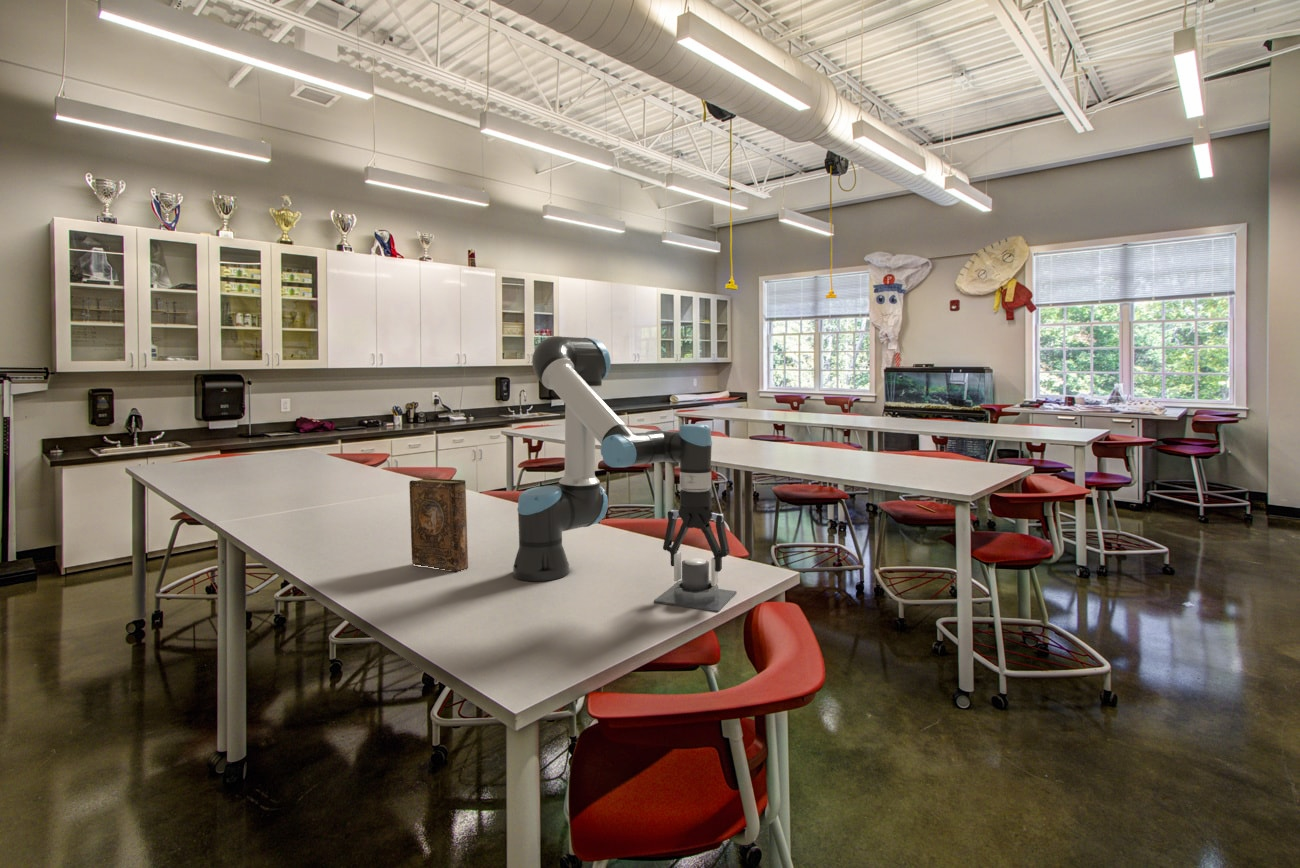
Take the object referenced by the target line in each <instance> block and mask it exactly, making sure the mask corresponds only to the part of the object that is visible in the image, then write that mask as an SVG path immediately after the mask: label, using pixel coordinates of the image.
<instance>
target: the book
mask: <svg viewBox="0 0 1300 868" xmlns="http://www.w3.org/2000/svg"><path fill="white" fill-rule="evenodd" d="M408 487H409V508H410V509H409V513H410V538H411V539H410V542H411V545H410V546H411V562H412V565H413V564H415V565H421V566H428V567H434V568H439V569H445V570H451V571H460V572H462V571H461V570H464V569H466V568H468V569H469V554H468V549H469V547H468V524H467V522H468V520H467V519H468V517H467V516H468V515H467V492H466V491H467V488H466V487H467V486H466V480H465V479H453V478H452V479H450V478H435V477H434V478H431V477H423V478H422V479H418V480H410V481H409V486H408ZM466 570H467V569H466ZM451 571H450V572H451ZM464 571H465V570H464Z"/></svg>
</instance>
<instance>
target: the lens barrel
mask: <svg viewBox="0 0 1300 868" xmlns="http://www.w3.org/2000/svg"><path fill="white" fill-rule="evenodd" d="M681 580H682V589H685V590H690V591H704V590H708V589H709V580H710V562H709V561H708V560H706V559H704V558H695V557H694V558H692V557H691V558H686V559H684V560H681Z"/></svg>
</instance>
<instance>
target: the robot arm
mask: <svg viewBox="0 0 1300 868" xmlns="http://www.w3.org/2000/svg"><path fill="white" fill-rule="evenodd" d="M531 361H532V364H531V365H532V369H533V371H534V374H535V376H536V378H537V379H538V380H539V382H540V383H541V384H542V385H543V386H544V387H545V388H546V389H548V390H552V391H554V393H555V394H556V395H557V396H558V397H559V398H560V400H561V401H562V402H563V403H564V405H565V414H564V415H565V417H564V419H565V421H564V424H565V425H564V426H565V427H564V428H565V430H564V475H563V477H561V478H560V479H559V480H558V481H559V482H558V486H557V485H543V486H536V487H532V488H528V489H526V490H524V491H523V492H521V493H520V494H519V496H518V500H517V502H518V503H517V509H516V510H517V515H518V520H517V521H518V550H517V552H516V556H515V558H514V564H513V567H512V573H513V574H512V575H513V577H514V578H516V579H518V580H520V581H521V580H522V581H527V582H545V581H552V580H557V579H560V578H563V577H565V576H567V575H568V574H569V573H570V563H569V561H568V557H567V554H566V552H565V549H564V546H563V532H567V531H571V530H575V529H580V528H587V527H590V526H592V525H597V524H598V523H599V522H601V520H603V519H604V517H605V516H606V514H607V511H608V504H609V499H608V498H609V497H608V495H607V494H606V490H605V489H604V488H603V487H602V486H601V483H600V482H601V480H600V479H598V477H597V476H596V474H595V473H596V472H595V471H596V469H595V467H596V440H597V442H598V443H600V454H601V456H602V461H603V462H604V463H605V465H606V466H609V468H629V467H632V466H633V467H634V466H639V465H648V464H655V463H662V462H664V463H665V462H666V463H667V462H668V463H679V487H680V488H681V490H680V491H679V509H678V510H677V509H671V510H669V511H668V512H667V520H668V521H667V525H666V526H667V527H666V531H665V536H664V541H663V545H662V550H664V551H667V552H668V553H669V554H670V567H673V581H674V582H678V581H680V580H682V552H681V551H680V547H681V545H682V543H683V541H684V538H685V537H686V534H687V533H688V531H689V529H694V528H695V529H697V530H701V532H702V533H703V534H704V536H705V537H704V538H705V539H706V541H707V543H708V545H709V547H710V550H711V553H712V555H713V557H712V558H710V562H711V563H710V565H711V568H710V569H711V572H710V573H711V575H710V576H711V577H710V578H711V580H710V581H711V586H715V585H716V584H717V585H718V584H719V573H720V572H721V571H722V569H723V558H725V557H727V556H728V555H730V552H731V551H730V546H729V543H728V542H729V541H728V537H727V531H726V527H725V515H726V514H724V513H715V512H714V510H713V509H712V491H711V488H712V449H713V448H712V445H713V441H712V432H711V431H712V430H711V427H710V426H709V425H708V424H706V423H705V424H704V423H703V424H702V423H700V424H699V423H688V424H681V425H680V426H679V431H668V430H661V429H657V430H647V431H646V432H637V433H635V432H633V431H632V430H631V428H630V427H628V426H627V424H626V423H625V422H624V421H623V420H622V419H621V418H620V417H619V416H618V414H616V413H615V412H614V410H613V409H612V408H611V407H609V405H608V404H607V403H606V402H605V401H604V400H603V399H602V398H601V397H600V396H599V395H598V394H597V392H598V391H599V390H600V389H601V388H602V383H603V381H602V380H603V379H605V378H606V377H607V376H608V373H610V372H611V371H610V370H611V364H612V363H611V362H612V361H611V356H610V353H609V350H608V348H607V347H606V346H605V345H604V344H603V342H601V340H598V339H595V338H589V337H577V336H576V337H573V336H559V335H558V336H556V335H555V336H554V335H553V336H549V337H547V338H544V339H543V340H542V341H540V342H539V344H537V346H536V348H535V349H534V351H533V353H532V360H531ZM679 517H680V518H681V520H682V523H681V525H680V528H679V531H678V533H677V535H676V537H675V539H674V536H675V530H676V525H677V519H678V518H679ZM711 519H713V523H715V529H716V533H717V534H716V535H717V539H718V541H717V539H716V536H715V534H714V531H713V530H712V526H711V523H710V521H711ZM673 540H674V541H673Z"/></svg>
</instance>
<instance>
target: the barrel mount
mask: <svg viewBox="0 0 1300 868" xmlns="http://www.w3.org/2000/svg"><path fill="white" fill-rule="evenodd" d="M736 594H738V593H737V590H729V589H724V588H723V589H722V588H719V585H718V583H717V584H716V585H715V586H711V580H710V579H709V589H708V590H704V591H690V590H685V589H682V579H680V580H678V581H676V582H675V583H674V584H673V585H672V586H671V587H670V588H668V589H667V590H665V591H664V592H663V593H662V594H660V595H659V596H657V597H656V598H655V599H654V600H653V603H654V604H661V605H670V606H676V607H683V608H689V609H690V608H691V609H695V608H696V610H702V609H704V610H703V611H708V610H712V611H711V612H715V611H718V612H717V613H719V612H720V611H721V610H722V609H723V608H724V607H725V606H726V604H728V603H729V601H731V599H732V598H734V596H736Z"/></svg>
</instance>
